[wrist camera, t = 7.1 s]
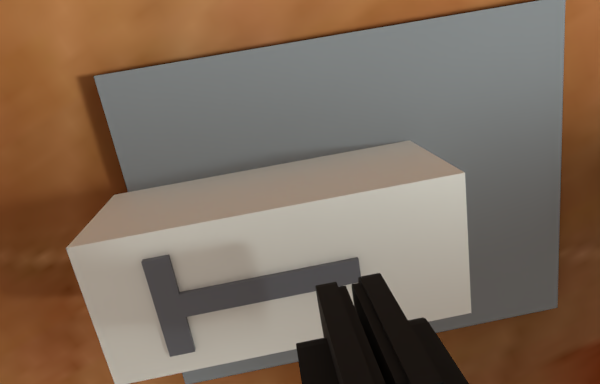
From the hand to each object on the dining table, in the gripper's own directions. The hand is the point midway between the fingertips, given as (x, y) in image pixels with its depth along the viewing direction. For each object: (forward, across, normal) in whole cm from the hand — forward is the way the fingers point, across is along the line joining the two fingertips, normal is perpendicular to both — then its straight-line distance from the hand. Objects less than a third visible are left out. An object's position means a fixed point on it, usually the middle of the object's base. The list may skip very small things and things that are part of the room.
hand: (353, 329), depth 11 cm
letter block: (+6, -4, 0) cm, 7 cm away
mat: (+9, -2, 0) cm, 9 cm away
